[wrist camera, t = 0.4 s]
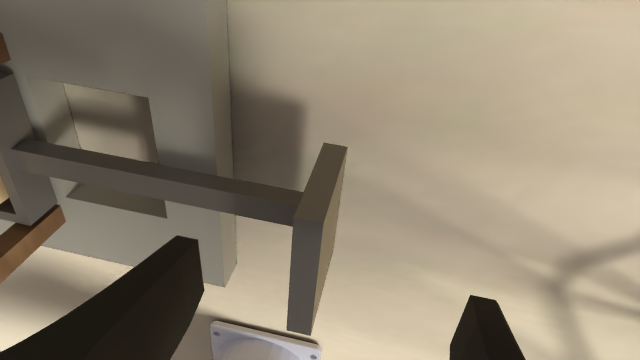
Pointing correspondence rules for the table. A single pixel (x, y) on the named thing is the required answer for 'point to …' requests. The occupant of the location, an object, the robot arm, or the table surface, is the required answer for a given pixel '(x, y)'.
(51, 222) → the tunnel
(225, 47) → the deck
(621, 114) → the table surface
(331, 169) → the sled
